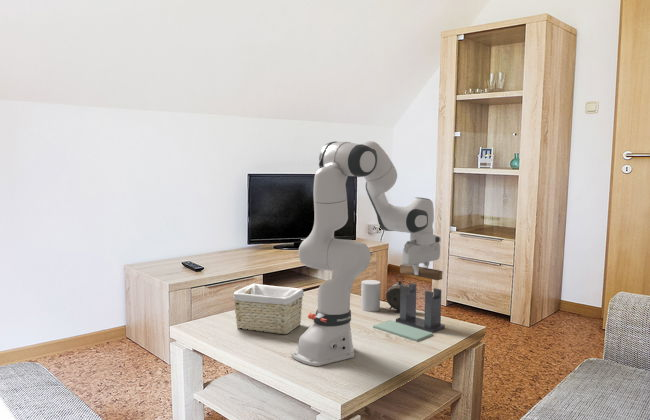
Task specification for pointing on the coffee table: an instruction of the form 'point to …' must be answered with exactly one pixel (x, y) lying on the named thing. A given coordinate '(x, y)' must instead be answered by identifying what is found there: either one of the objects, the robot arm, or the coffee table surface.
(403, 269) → the rail
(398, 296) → the alarm clock
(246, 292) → the storage basket
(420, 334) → the mat
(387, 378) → the coffee table surface
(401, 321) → the hook stand
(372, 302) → the white cylinder
